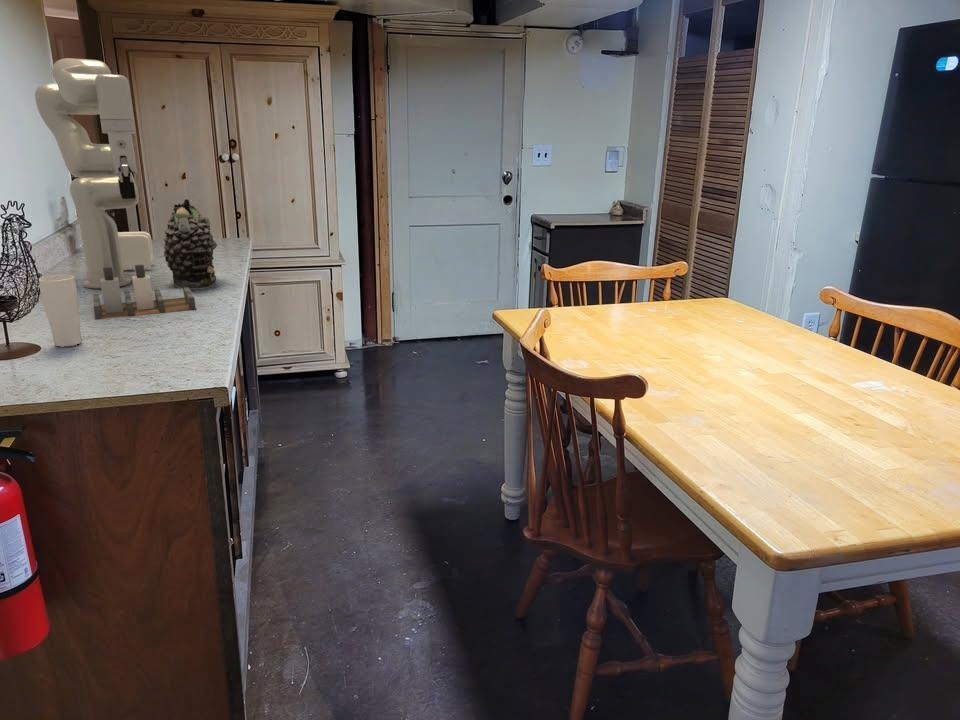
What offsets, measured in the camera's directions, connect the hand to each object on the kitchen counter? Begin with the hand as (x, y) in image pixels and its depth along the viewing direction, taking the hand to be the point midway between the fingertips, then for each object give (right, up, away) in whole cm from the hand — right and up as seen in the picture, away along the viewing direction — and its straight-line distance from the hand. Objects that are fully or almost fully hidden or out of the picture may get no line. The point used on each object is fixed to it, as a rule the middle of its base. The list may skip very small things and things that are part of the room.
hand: (128, 196), depth 181 cm
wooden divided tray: (+5, -30, 0) cm, 30 cm away
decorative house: (+5, -20, +31) cm, 37 cm away
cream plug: (+5, -29, 0) cm, 29 cm away
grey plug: (-2, -30, -4) cm, 30 cm away
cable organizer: (-26, -12, +52) cm, 59 cm away
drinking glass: (0, -39, -27) cm, 48 cm away
